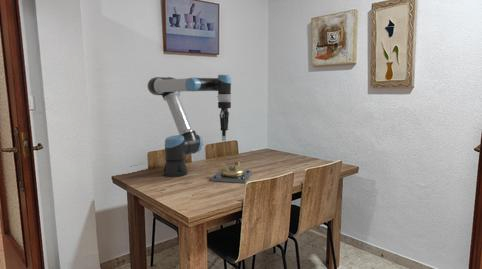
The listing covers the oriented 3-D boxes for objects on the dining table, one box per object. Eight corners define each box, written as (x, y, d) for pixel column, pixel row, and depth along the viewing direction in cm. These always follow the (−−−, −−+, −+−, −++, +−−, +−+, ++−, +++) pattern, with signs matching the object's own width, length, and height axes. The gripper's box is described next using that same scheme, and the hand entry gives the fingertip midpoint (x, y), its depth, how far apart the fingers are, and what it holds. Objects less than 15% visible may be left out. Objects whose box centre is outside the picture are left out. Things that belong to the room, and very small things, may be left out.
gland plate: (211, 181, 196) (211, 176, 195) (220, 172, 215) (220, 168, 215) (245, 183, 191) (245, 178, 191) (252, 174, 211) (252, 170, 210)
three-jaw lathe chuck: (235, 178, 193) (235, 167, 192) (215, 174, 201) (215, 164, 200) (248, 172, 205) (248, 162, 204) (229, 169, 212) (229, 159, 211)
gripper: (221, 100, 207) (221, 139, 211) (215, 101, 195) (215, 142, 198) (233, 101, 206) (233, 139, 209) (227, 102, 193) (227, 143, 197)
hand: (224, 141), depth 204 cm, fingers closed
